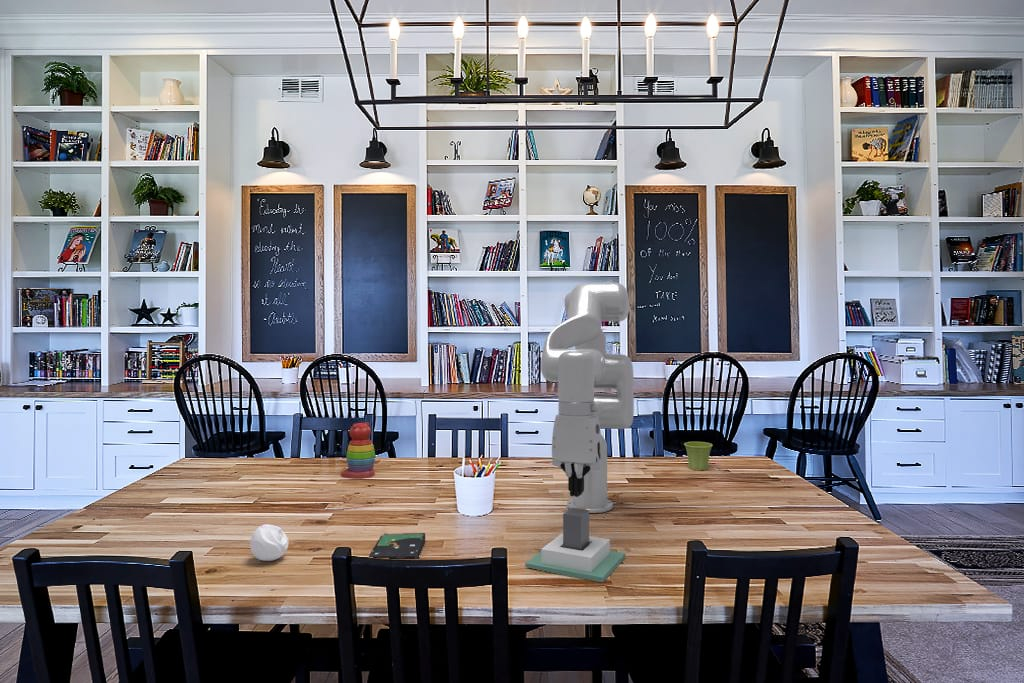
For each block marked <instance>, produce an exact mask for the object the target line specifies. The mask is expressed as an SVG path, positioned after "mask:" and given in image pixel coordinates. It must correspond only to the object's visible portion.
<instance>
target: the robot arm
mask: <svg viewBox="0 0 1024 683" xmlns="http://www.w3.org/2000/svg"><path fill="white" fill-rule="evenodd" d="M563 304H564V311H565V313H566V320H564V321H562V322H561V323H559V324H558V325H557V326H555V328H553V329H552V330H551V331H549V333H548V334H547V336H546V338H545V340H544V344H543V348H542V354H541V360H540V371H541V375H542V376H543V378H544V379H545V380H546V381H548V382H552V383H558V385H557V386H558V388H557V389H558V392H557V393H558V399H557V400H558V414H555V418H554V423H553V428H552V437H551V458H552V461H551V464H552V466H554V467H557V468H561V470H562V471H563V472H564V474H565V475H566V477H567V478H568V480H567V481H568V482H567V484H568V485H567V486H568V487H567V489H568V490H567V491H568V492H569V496H570V497H572V498H570V499H568V500H567V502H566V507H567V508H568V510H569V509H570V508H577V507H584V508H587V510H589V514H598V513H599V514H601V513H605V512H609V511H611V510H612V509H613V508H614V503H613V502H612V501H611V500H609V499H608V491H609V487H608V445H607V441H606V439H605V437H604V436H603V435H602V433H601V432H602V431H601V430H602V429H621V430H625V429H628V428H630V427H631V426H632V425H633V422H634V414H635V412H634V411H635V408H634V407H635V406H634V405H635V404H634V398H635V397H634V395H635V394H634V393H635V390H634V386H635V385H634V382H635V381H634V366H633V363H632V360H631V358H630V357H629V356H628V355H626V354H623V353H622V354H621V353H620V354H619V353H607V348H606V347H607V346H606V345H607V338H606V334H605V332H604V331H603V329H602V322H623V321H625V320H626V319H627V317H628V315H629V312H630V297H629V294H628V291H627V288H626V287H625V285H624V284H622V283H620V282H585V283H584V282H583V283H580V284H578V285H575V287H573V289H572V290H571V292H568V293H567V294H566V295H565V298H564V303H563ZM595 389H602V390H603V389H608V390H609V389H611V390H615V391H616V392H617V393H602V392H601V393H600V392H599V393H597V392H596V393H595Z"/></svg>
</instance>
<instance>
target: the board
mask: <svg viewBox="0 0 1024 683" xmlns="http://www.w3.org/2000/svg"><path fill="white" fill-rule="evenodd" d="M540 550H541V551H539V552H538V553H537V554H535V555H534V556H533V557H531V558H530V559H529V560H527V561H526V562H525V563H524V565H525V567H527V568H526V569H528V568H533V569H537V570H536V571H539V570H542V571H541V572H544V571H547V572H546V573H549V572H551V574H554V573H556V574H555V575H560V574H561V575H560V576H565V575H566V577H570V576H571V578H577V579H581V580H582V579H583V580H586V579H587V580H588V581H593V582H598V583H602V584H603V583H604V582H605V581H606V580H607V578H608V577H609V576H610V575H611V574H612V573H613V572H614V571H615V570H616V568H618V567H619V565H620V564H621V563H622V562H623V561H624V560H625V559H626V552H621V551H615V550H611V539H609V538H603V537H596V536H590V535H589V545H588V546H587V547H586V548H585V549H584V550H583V551H581V550H575V549H569V548H563V532H562V533H560V534H559V535H558V536H556V537H555V538H554V539H553V540H551V541H550V542H549V543H547V544H546V545H545V546H543V547H542V548H541V549H540ZM525 567H524V568H525ZM533 569H532V570H533Z"/></svg>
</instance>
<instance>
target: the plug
mask: <svg viewBox="0 0 1024 683" xmlns="http://www.w3.org/2000/svg"><path fill="white" fill-rule="evenodd" d="M562 533H563V548H569V549H575V550H581V551H583V550H584V549H585V548H586V547H587V546H588V545H589V536H590V513H589V510H587V508H584V507H577V508H570V509H569V508H568V510H566V511H564V512H563V514H562Z"/></svg>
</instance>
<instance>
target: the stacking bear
mask: <svg viewBox="0 0 1024 683" xmlns="http://www.w3.org/2000/svg"><path fill="white" fill-rule="evenodd" d="M348 433H349V436H350V438H351V440H350V441H349V444H348V447H347V451H346V456H345V457H346V463H347V468H346V469H344V470H342V471H341V473H340V475H341V477H343V478H346V479H347V478H348V479H356V480H357V479H358V480H359V479H367V478H371V477H374V476H375V474H376V471H375V469H374V465H375V461H376V460H375V459H376V451H375V447H374V446H375V445H374V444H373V443H372V440H371V439H370V436H371V433H372V432H371V427H370V423H369V422H356V423H354V424H352V426H351V427H350V429H349V432H348Z"/></svg>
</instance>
